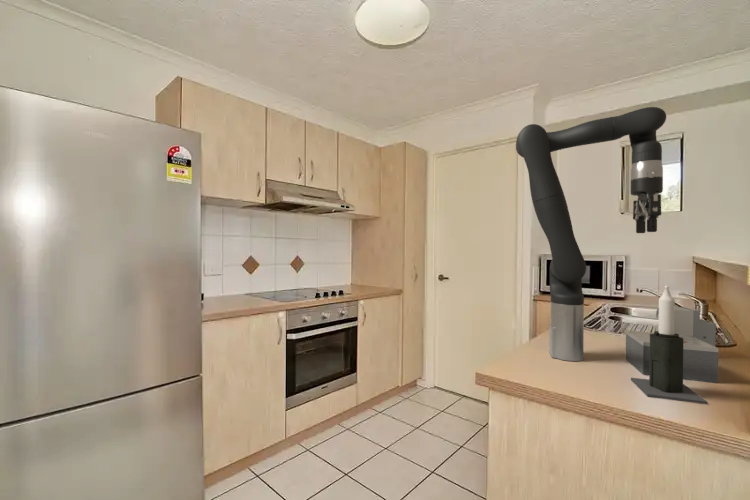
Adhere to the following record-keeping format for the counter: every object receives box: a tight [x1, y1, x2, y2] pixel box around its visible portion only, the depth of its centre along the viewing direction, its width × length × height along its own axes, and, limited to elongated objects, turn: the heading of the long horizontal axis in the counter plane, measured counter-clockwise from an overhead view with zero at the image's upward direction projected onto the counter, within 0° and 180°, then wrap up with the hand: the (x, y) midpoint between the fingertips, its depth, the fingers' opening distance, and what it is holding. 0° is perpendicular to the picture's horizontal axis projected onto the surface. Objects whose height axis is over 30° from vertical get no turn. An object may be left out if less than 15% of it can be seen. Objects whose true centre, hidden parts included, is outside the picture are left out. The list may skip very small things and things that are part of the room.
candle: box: [648, 285, 684, 393], centre depth 83 cm, size 5×5×25 cm
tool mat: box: [630, 377, 708, 405], centre depth 83 cm, size 11×11×1 cm
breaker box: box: [625, 330, 719, 384], centre depth 98 cm, size 16×14×9 cm
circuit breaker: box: [655, 305, 719, 347], centre depth 113 cm, size 8×14×15 cm, turn 78°
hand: (646, 232), depth 102 cm, fingers open, 8 cm apart
